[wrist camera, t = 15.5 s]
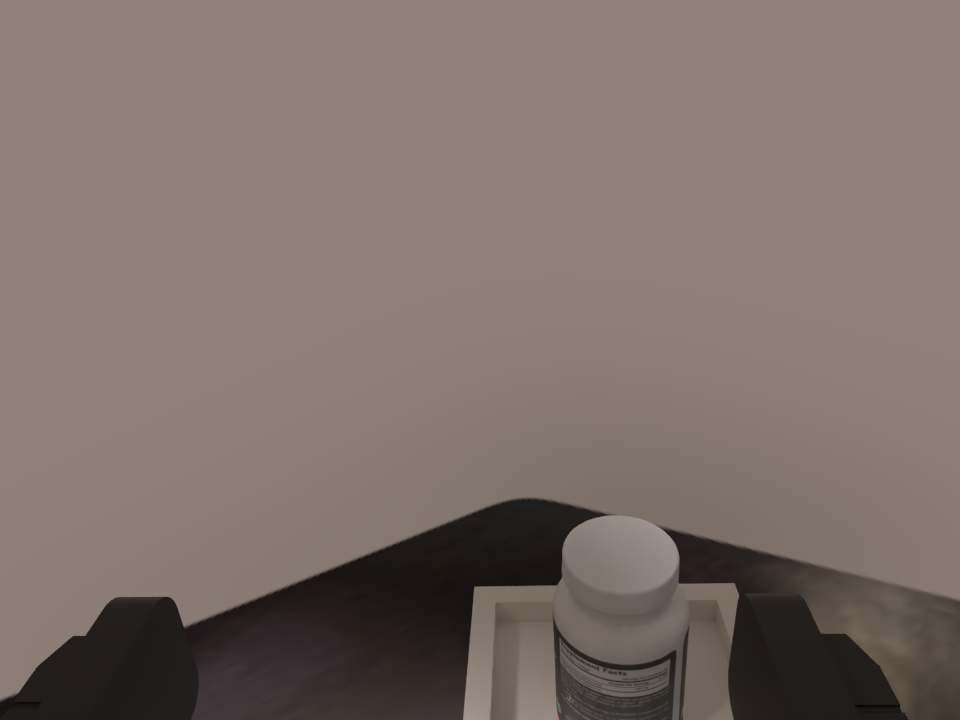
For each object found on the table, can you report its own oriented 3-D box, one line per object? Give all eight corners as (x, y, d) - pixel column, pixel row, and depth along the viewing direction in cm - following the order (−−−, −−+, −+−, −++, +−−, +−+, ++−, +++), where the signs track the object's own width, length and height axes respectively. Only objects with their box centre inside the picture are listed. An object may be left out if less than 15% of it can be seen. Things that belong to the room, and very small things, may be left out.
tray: (456, 882, 28) (451, 851, 28) (476, 613, 41) (474, 586, 40) (827, 889, 27) (834, 857, 26) (731, 611, 40) (734, 583, 39)
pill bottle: (595, 649, 37) (595, 491, 33) (702, 704, 34) (717, 536, 30) (532, 731, 33) (523, 563, 29) (646, 802, 30) (654, 624, 26)
